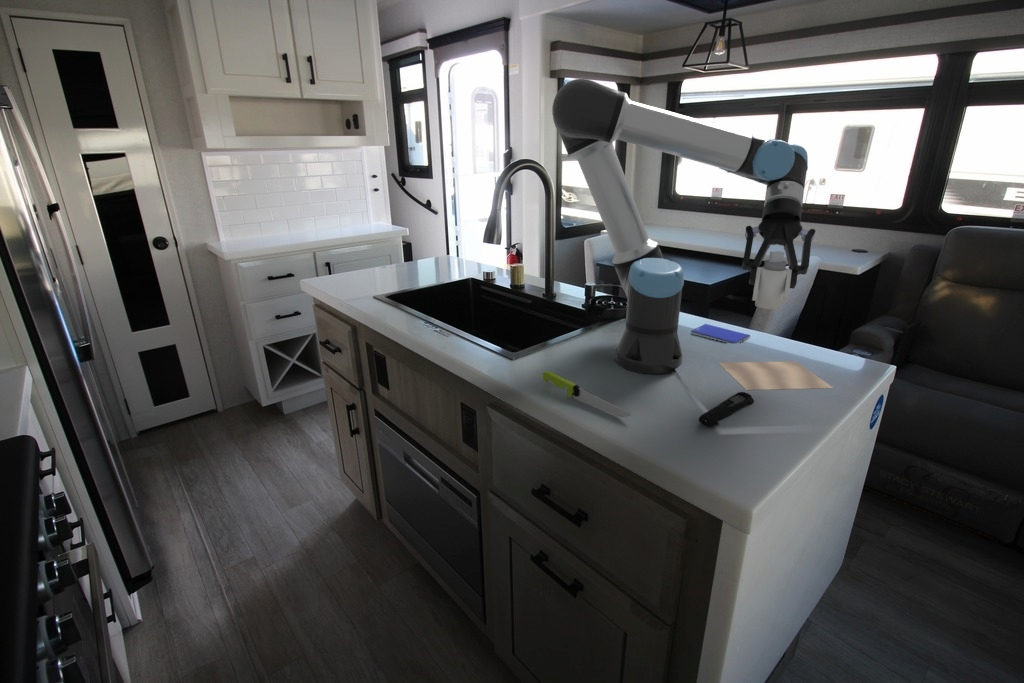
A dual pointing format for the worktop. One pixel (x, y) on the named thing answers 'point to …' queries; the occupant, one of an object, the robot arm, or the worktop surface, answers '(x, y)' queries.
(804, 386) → the board
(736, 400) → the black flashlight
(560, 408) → the worktop surface
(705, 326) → the hard drive
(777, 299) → the white bottle
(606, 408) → the kitchen knife
